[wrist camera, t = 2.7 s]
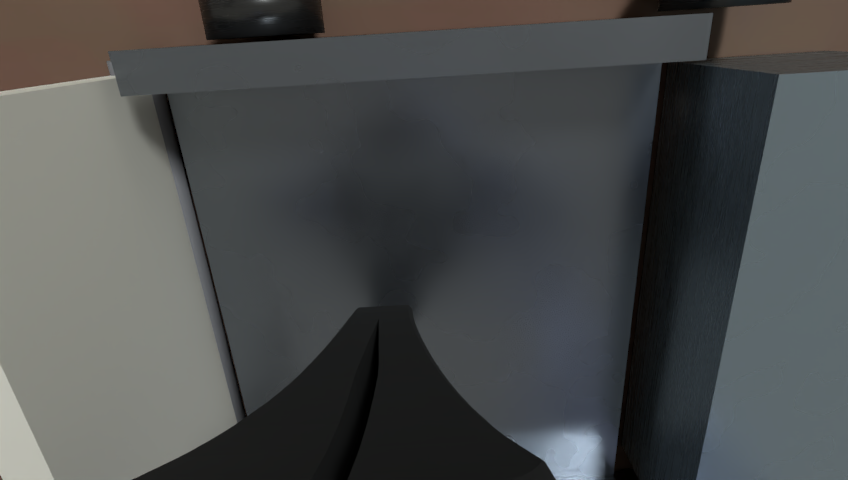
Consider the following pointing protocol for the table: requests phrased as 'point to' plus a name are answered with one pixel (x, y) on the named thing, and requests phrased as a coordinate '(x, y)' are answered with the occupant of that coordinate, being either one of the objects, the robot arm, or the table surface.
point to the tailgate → (102, 290)
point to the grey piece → (536, 224)
